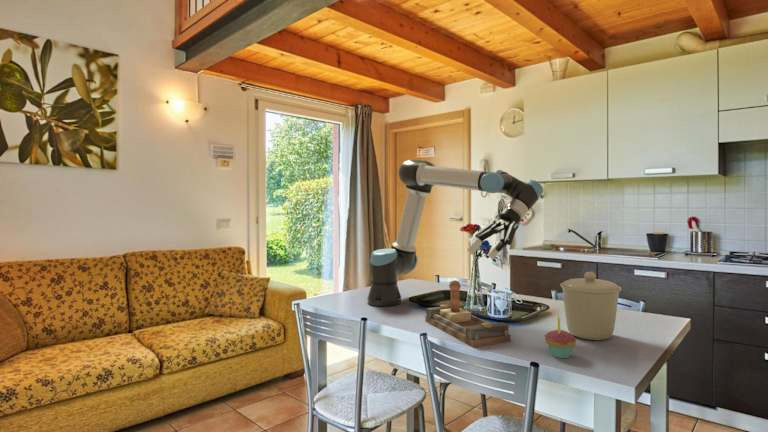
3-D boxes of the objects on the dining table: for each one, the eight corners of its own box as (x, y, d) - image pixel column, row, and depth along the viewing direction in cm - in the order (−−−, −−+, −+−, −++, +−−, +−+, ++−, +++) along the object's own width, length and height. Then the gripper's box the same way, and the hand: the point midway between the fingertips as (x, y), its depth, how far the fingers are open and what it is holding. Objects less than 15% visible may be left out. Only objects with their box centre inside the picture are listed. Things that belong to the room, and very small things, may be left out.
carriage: (439, 317, 159) (439, 279, 159) (458, 315, 162) (458, 277, 162) (451, 323, 152) (450, 283, 151) (470, 320, 155) (470, 281, 154)
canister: (551, 336, 143) (551, 272, 142) (571, 324, 156) (571, 266, 155) (611, 348, 131) (611, 278, 130) (628, 334, 144) (628, 271, 143)
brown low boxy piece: (425, 321, 164) (425, 306, 163) (457, 316, 169) (457, 302, 169) (472, 347, 134) (472, 329, 134) (510, 341, 139) (510, 323, 139)
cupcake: (573, 362, 120) (573, 319, 120) (541, 357, 125) (541, 315, 124) (578, 353, 127) (578, 312, 127) (547, 348, 132) (547, 308, 131)
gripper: (541, 222, 157) (506, 266, 152) (499, 218, 180) (467, 257, 176) (529, 207, 155) (493, 251, 150) (488, 206, 178) (456, 244, 173)
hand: (479, 254), depth 163 cm, fingers open, 13 cm apart
